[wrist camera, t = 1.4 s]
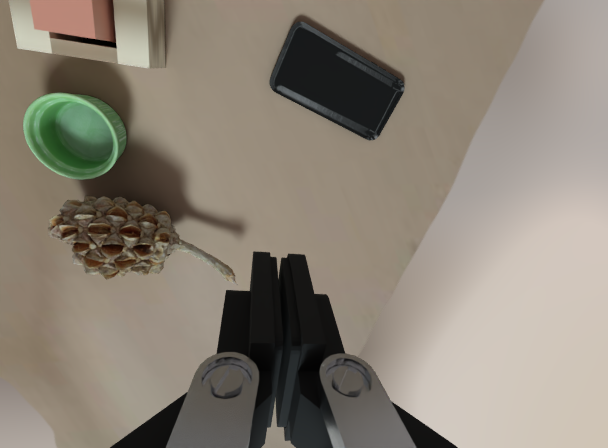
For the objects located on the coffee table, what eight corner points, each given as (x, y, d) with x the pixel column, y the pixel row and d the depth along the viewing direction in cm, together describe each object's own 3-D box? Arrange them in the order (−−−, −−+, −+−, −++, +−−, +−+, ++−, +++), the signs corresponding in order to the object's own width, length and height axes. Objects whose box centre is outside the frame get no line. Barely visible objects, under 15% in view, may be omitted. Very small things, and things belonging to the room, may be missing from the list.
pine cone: (71, 235, 44) (22, 279, 35) (81, 169, 40) (30, 198, 31) (234, 277, 49) (228, 324, 41) (255, 222, 46) (254, 260, 37)
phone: (374, 143, 42) (266, 87, 38) (372, 141, 43) (266, 87, 39) (408, 83, 40) (296, 16, 35) (405, 82, 41) (295, 17, 36)
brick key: (62, -23, 30) (22, -40, 25) (116, -13, 30) (89, -28, 25) (69, 34, 31) (34, 29, 27) (120, 43, 32) (95, 39, 27)
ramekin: (65, 71, 36) (41, 72, 32) (145, 121, 39) (132, 128, 35) (35, 140, 38) (9, 149, 34) (113, 182, 41) (97, 194, 38)
